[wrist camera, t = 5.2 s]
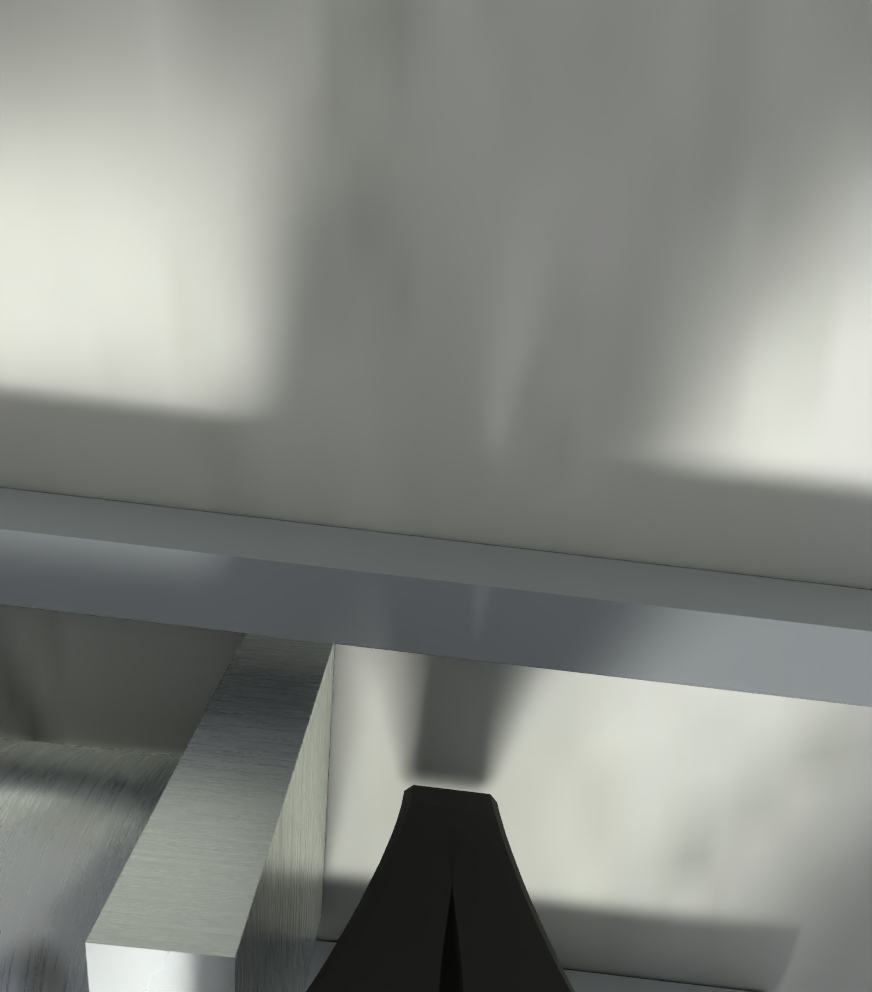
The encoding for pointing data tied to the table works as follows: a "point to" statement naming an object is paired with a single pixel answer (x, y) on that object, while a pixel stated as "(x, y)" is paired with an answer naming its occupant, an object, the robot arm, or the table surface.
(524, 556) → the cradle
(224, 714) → the spool
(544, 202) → the table surface
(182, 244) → the table surface
